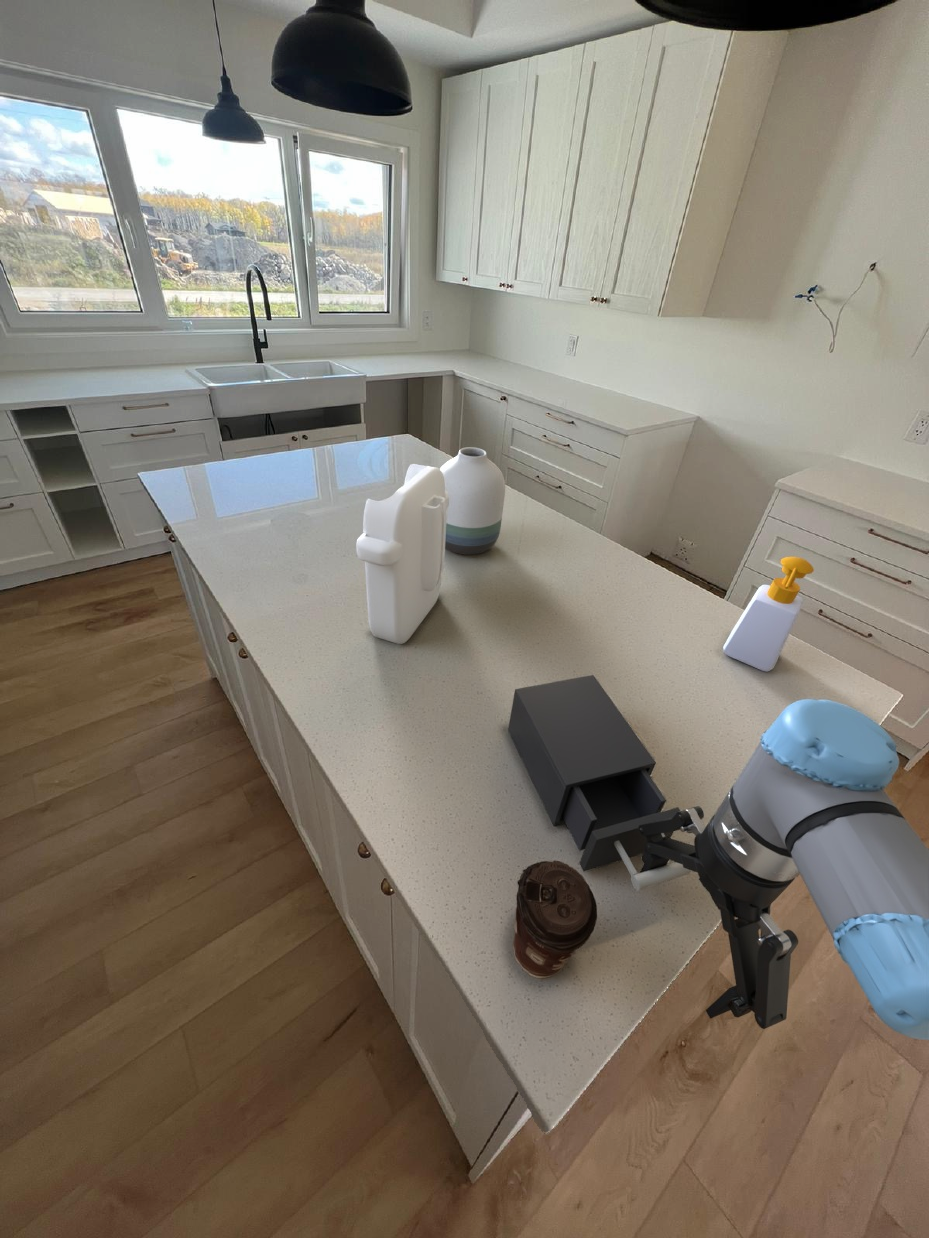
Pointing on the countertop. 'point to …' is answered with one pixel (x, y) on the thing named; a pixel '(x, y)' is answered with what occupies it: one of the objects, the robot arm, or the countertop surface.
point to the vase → (473, 501)
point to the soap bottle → (768, 618)
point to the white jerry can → (404, 553)
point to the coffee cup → (551, 917)
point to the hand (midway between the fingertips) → (678, 940)
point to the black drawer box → (572, 738)
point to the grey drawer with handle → (618, 824)
